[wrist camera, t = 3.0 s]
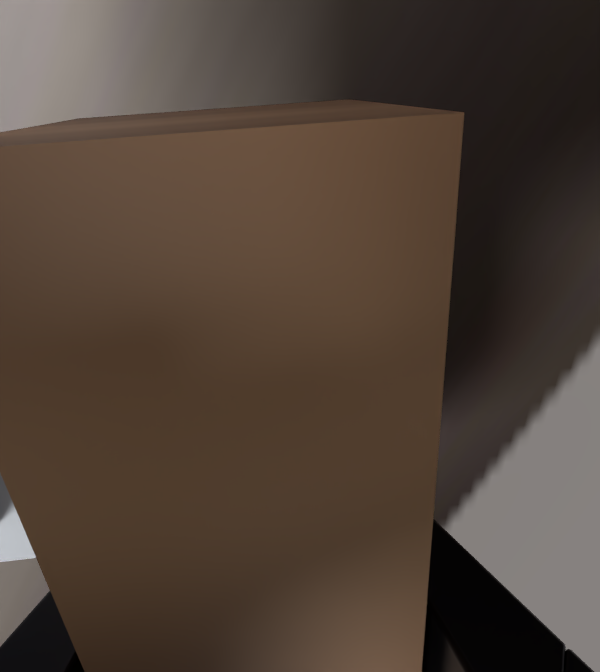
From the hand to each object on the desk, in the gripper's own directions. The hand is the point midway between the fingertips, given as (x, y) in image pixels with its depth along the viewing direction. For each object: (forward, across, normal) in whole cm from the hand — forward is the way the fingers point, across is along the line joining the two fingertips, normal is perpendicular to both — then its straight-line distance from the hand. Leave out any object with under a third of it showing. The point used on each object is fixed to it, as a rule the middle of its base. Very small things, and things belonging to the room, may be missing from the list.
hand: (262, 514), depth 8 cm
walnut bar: (+1, 0, 0) cm, 1 cm away
